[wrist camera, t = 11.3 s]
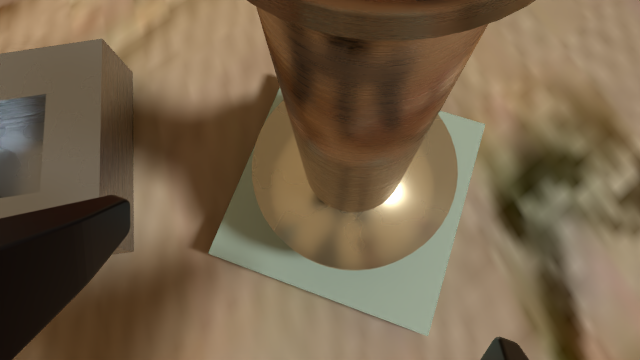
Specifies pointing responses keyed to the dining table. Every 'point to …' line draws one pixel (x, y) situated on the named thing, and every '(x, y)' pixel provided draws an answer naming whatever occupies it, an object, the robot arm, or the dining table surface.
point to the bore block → (65, 128)
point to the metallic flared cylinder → (363, 123)
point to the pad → (343, 285)
